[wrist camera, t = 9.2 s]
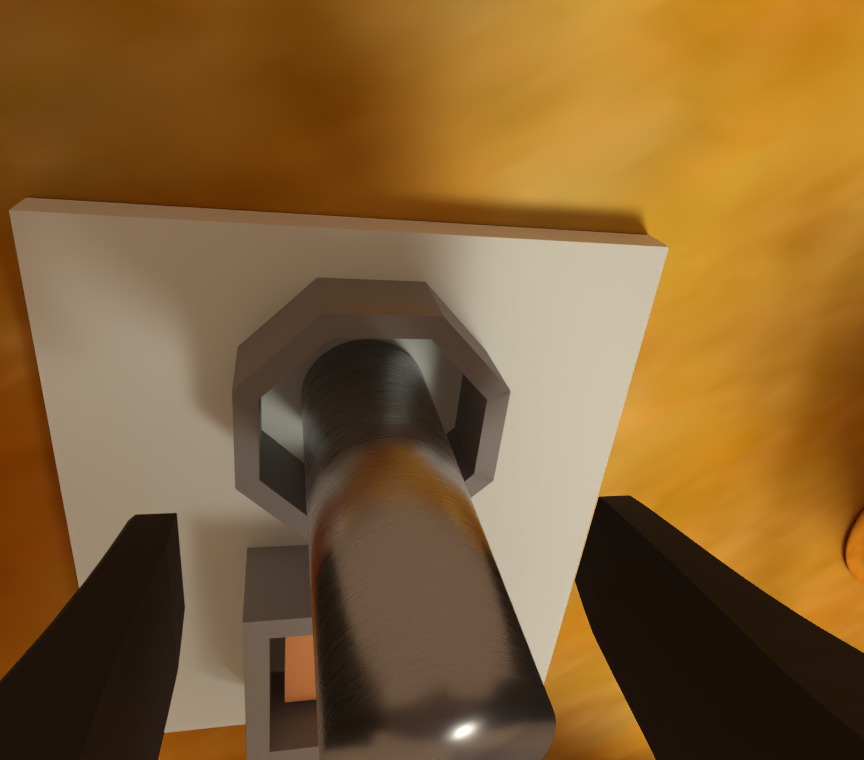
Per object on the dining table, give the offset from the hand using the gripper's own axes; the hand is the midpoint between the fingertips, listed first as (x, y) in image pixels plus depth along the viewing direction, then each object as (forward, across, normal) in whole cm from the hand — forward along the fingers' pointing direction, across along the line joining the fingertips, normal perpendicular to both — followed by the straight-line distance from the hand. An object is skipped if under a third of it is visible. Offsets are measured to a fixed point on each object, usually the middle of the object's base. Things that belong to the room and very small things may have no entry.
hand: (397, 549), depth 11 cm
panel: (+6, 0, +4) cm, 8 cm away
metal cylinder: (+5, 0, 0) cm, 5 cm away
